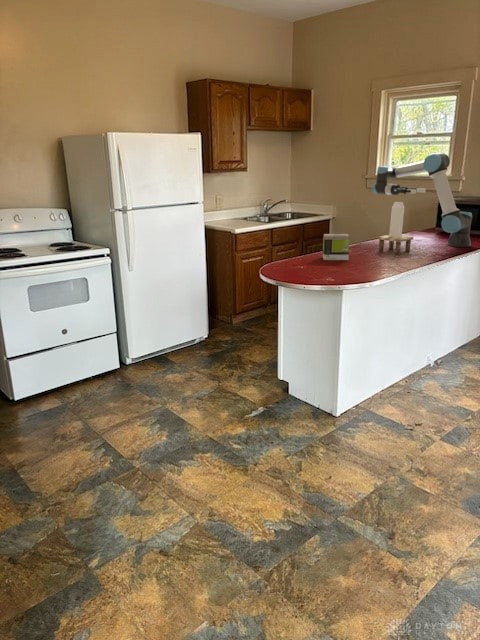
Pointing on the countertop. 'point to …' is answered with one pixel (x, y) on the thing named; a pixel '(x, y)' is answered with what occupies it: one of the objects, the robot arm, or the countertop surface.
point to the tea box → (336, 246)
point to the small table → (398, 243)
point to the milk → (396, 220)
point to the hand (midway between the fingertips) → (420, 191)
